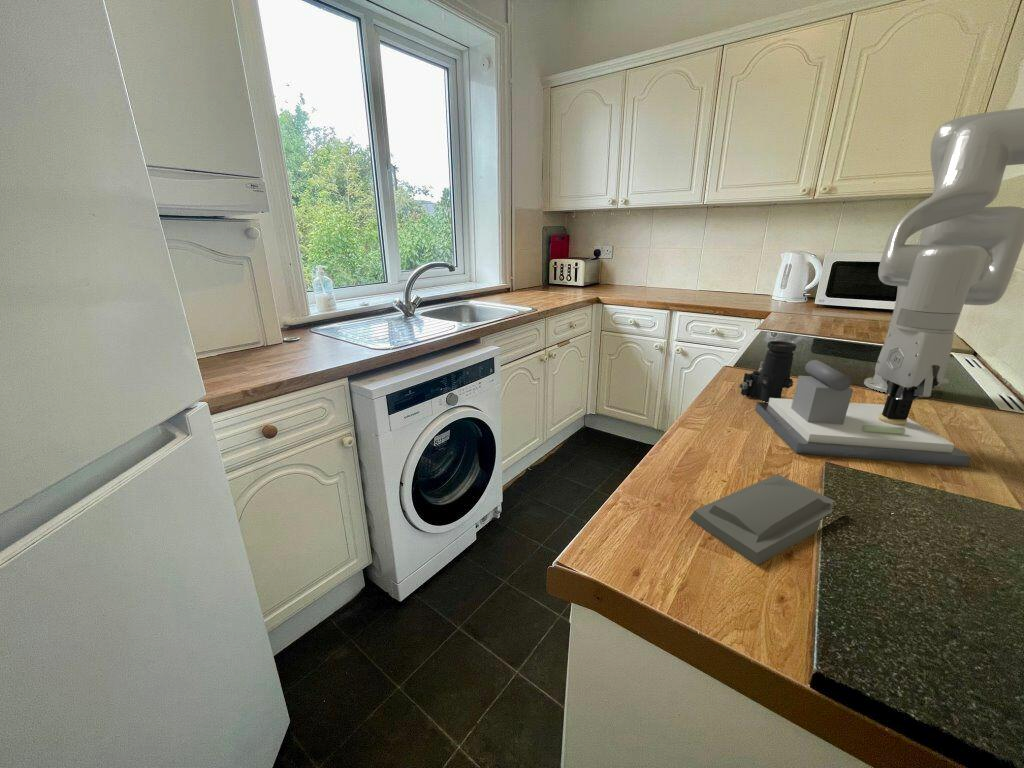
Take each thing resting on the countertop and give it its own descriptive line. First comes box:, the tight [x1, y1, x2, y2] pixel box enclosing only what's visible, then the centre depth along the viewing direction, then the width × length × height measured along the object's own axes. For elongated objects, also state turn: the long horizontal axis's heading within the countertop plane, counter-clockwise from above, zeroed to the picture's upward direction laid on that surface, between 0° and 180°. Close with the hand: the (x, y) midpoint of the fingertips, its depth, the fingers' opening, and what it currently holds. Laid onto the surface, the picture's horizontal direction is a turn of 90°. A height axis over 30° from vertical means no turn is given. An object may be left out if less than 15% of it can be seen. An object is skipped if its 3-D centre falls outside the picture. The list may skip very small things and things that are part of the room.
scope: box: [738, 340, 797, 402], centre depth 96 cm, size 8×14×10 cm
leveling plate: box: [768, 359, 956, 452], centre depth 78 cm, size 22×18×12 cm
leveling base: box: [754, 401, 971, 468], centre depth 80 cm, size 26×20×2 cm
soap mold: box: [689, 473, 836, 566], centre depth 57 cm, size 10×20×4 cm, turn 118°
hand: (893, 417), depth 78 cm, fingers closed
